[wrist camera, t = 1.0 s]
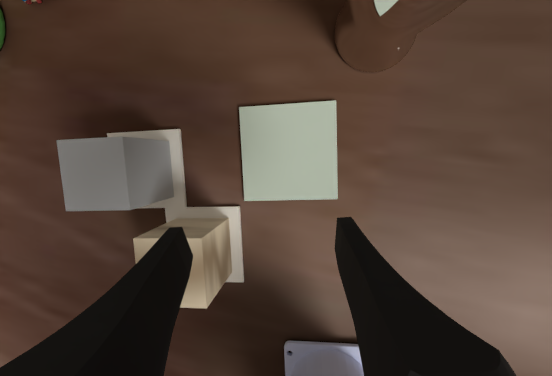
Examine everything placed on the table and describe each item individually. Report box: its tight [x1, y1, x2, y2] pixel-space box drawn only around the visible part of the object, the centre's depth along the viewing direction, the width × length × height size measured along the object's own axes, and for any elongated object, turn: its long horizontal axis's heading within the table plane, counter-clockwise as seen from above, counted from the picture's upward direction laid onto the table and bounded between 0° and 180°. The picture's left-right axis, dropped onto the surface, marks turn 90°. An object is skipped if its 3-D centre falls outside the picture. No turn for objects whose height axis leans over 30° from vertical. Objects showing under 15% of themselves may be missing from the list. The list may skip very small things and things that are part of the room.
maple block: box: [133, 218, 232, 309], centre depth 22 cm, size 5×5×6 cm
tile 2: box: [165, 206, 244, 282], centre depth 25 cm, size 7×7×1 cm
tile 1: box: [107, 129, 187, 208], centre depth 25 cm, size 7×7×1 cm
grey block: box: [57, 136, 174, 211], centre depth 22 cm, size 5×5×6 cm
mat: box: [239, 100, 338, 201], centre depth 23 cm, size 8×8×1 cm
